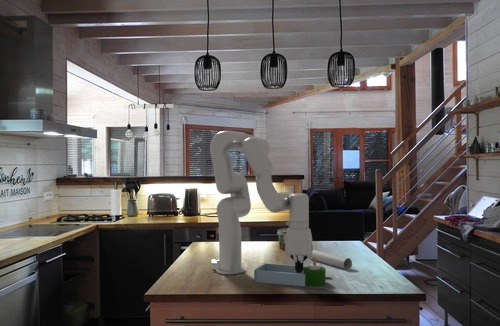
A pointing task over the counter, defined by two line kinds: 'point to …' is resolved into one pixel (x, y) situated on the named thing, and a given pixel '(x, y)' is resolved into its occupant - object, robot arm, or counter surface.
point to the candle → (314, 274)
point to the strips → (319, 287)
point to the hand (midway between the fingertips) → (299, 272)
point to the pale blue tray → (279, 274)
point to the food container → (282, 237)
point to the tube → (332, 259)
